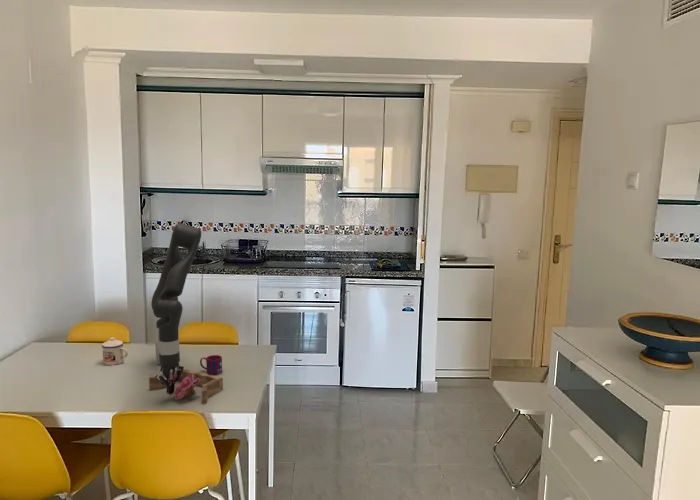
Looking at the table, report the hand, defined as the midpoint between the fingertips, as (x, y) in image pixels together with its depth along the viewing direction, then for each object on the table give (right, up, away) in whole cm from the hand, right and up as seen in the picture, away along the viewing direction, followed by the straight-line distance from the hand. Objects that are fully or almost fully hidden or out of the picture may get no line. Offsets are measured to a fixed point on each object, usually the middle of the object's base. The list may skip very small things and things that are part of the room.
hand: (170, 393), depth 206 cm
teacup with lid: (-38, +4, +38) cm, 54 cm away
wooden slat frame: (+4, -1, +8) cm, 9 cm away
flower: (+6, -2, +2) cm, 6 cm away
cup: (+8, +2, +28) cm, 30 cm away
